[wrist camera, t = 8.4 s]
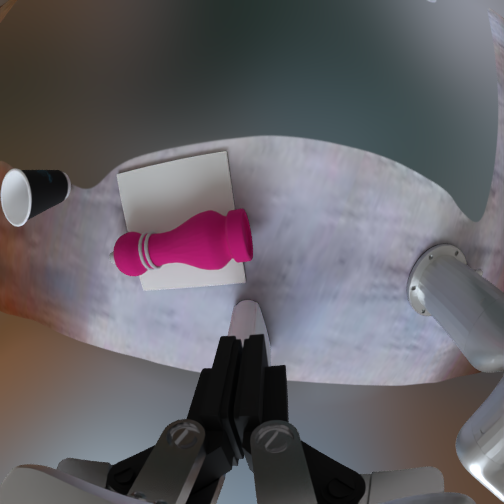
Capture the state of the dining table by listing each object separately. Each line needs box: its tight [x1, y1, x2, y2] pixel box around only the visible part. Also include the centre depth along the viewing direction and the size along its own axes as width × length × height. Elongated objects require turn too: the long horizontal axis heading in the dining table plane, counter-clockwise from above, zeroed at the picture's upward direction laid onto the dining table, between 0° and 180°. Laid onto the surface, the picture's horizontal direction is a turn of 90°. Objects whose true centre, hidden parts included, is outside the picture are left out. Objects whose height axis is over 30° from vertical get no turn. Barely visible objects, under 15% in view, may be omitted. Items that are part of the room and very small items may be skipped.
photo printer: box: [228, 300, 271, 366], centre depth 36 cm, size 10×4×12 cm, turn 14°
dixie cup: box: [1, 169, 71, 226], centre depth 30 cm, size 8×8×11 cm
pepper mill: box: [109, 209, 253, 276], centre depth 34 cm, size 7×7×20 cm
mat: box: [117, 151, 246, 291], centre depth 37 cm, size 16×18×1 cm
